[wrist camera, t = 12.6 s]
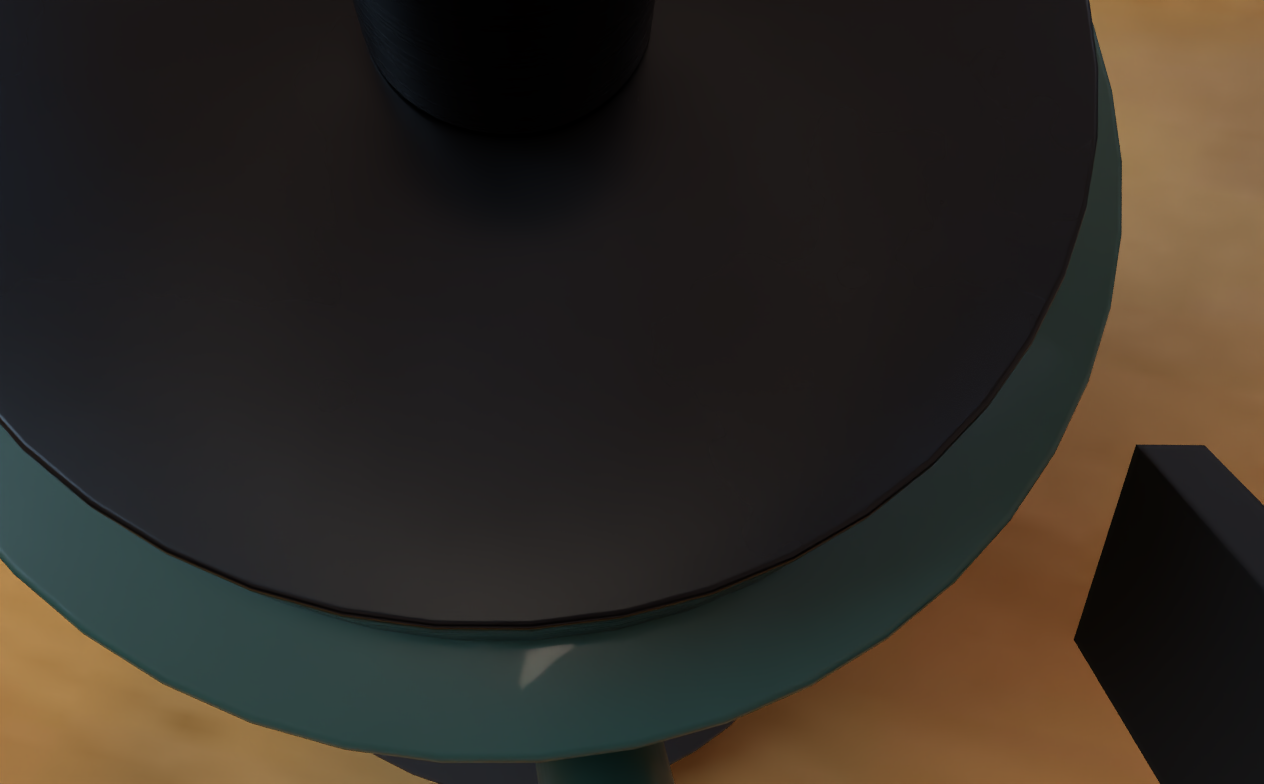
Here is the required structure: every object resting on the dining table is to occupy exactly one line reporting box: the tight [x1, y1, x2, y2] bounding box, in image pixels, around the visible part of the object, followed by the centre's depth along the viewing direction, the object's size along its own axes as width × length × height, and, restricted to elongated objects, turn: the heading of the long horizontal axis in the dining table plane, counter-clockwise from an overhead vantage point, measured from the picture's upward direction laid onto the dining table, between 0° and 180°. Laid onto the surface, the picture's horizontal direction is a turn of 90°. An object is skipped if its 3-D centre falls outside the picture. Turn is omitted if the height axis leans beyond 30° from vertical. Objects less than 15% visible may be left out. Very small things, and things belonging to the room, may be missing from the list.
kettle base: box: [374, 719, 737, 784], centre depth 24 cm, size 13×13×2 cm
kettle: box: [0, 0, 1122, 784], centre depth 14 cm, size 19×10×18 cm, turn 11°
